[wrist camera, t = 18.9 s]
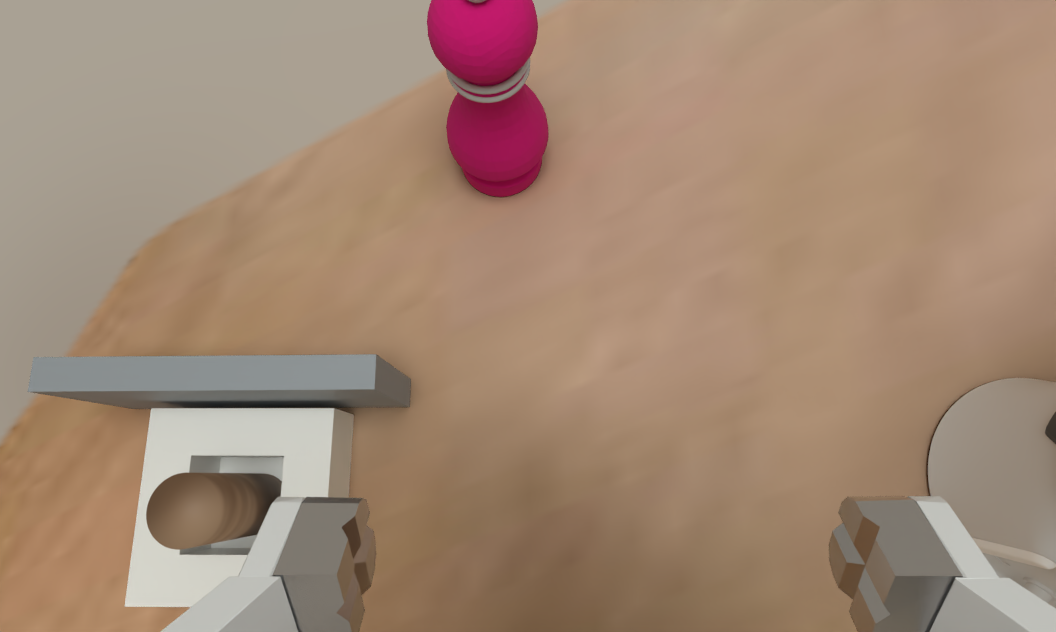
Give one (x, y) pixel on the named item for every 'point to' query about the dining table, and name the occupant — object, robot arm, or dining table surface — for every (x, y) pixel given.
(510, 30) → the pepper mill
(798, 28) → the dining table surface
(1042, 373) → the dining table surface
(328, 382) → the slate backstop wall
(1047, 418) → the robot arm
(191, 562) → the white socket block
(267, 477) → the walnut dowel
